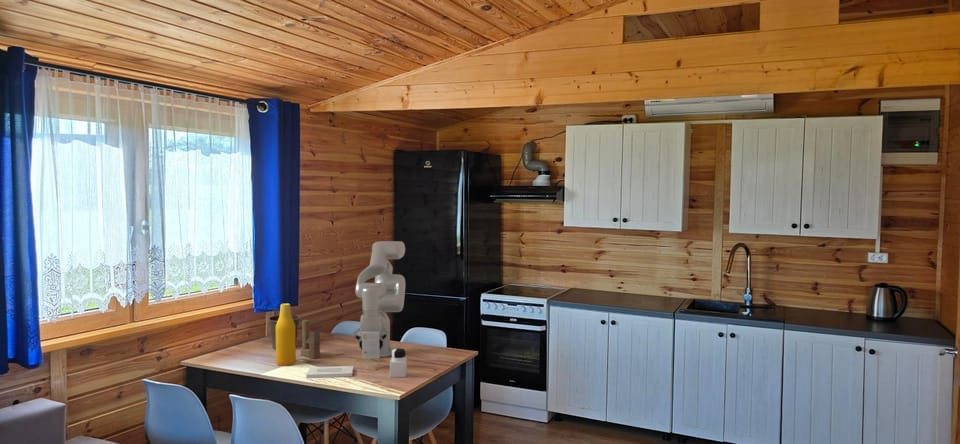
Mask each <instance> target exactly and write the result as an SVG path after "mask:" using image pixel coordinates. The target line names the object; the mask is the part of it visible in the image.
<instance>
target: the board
mask: <svg viewBox="0 0 960 444" xmlns="http://www.w3.org/2000/svg"><path fill="white" fill-rule="evenodd" d="M353 372H354V365H341V366H339V365H338V366H335V365H334V366H310V367H309V369H308V371H307V372H306V374H305V375H306V376H305V377H306V378H307V379H313V378H314V379H317V378H344V377H345V378H349V377H350V378H351V377H353Z"/></svg>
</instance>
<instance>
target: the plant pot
mask: <svg viewBox="0 0 960 444" xmlns="http://www.w3.org/2000/svg"><path fill="white" fill-rule="evenodd" d="M279 316H280V314H279V315H278V314H276V315H271V316H269V317H268V318H267V321H268V323H269V327H270V334H271V344H272V349H274V350H276V324H277V321H278V319H279ZM291 317H292V319H293V321H294V323H295V345H296V346H297V344H298V343H297V342H298V341H297V340H298V327H299V324H300V323H299V322H300V319H301V316H299V315H297V314H291Z"/></svg>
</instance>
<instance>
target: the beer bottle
mask: <svg viewBox="0 0 960 444" xmlns="http://www.w3.org/2000/svg"><path fill="white" fill-rule="evenodd" d="M279 310H280V311H279V315H280V316H279V319H278V321H277V324H276V349H275V364H276V365H277V366H281V367H288V366H292V365H295V364H296V361H297V356H296V355H297V354H296V352H297V351H296V348H297V344H296V345H295V323H294V321H293V319H292V317H291V315H292V311H291V304H290V303H281V304H280V308H279Z"/></svg>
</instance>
